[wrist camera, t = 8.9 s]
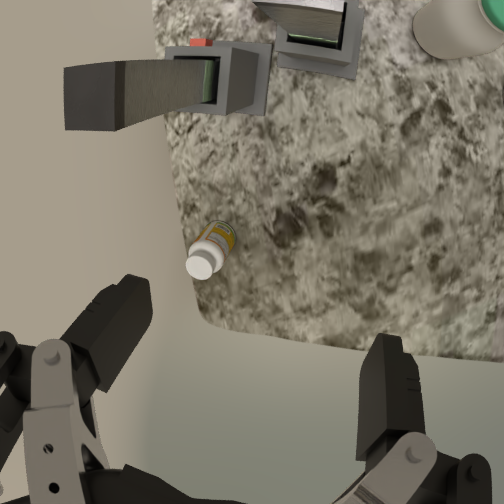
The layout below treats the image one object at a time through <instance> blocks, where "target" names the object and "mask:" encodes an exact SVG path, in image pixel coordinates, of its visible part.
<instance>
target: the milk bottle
mask: <svg viewBox="0 0 504 504" xmlns="http://www.w3.org/2000/svg"><path fill="white" fill-rule="evenodd" d="M413 32H414V35H415V38H416V40H417V41H418V43H419V44H420V46H421V47H422V48H423V49H424V50H425V51H426V52H427V53H429V54H430V55H432V56H434V57H436V58H439V59H457V58H464V57H471V56H478V55H483V54H487V53H490V52H493V51H495V50H496V49H498V48H499V47H500V46H501V45H502V44H503V43H504V0H432V1H431V2H429V3H428V4H427V5H425V6H424V7H423V8H421V9H420V10H419V11H418V12H417V14H416V15H415V17H414V20H413Z"/></svg>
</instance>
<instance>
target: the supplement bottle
mask: <svg viewBox="0 0 504 504" xmlns="http://www.w3.org/2000/svg"><path fill="white" fill-rule="evenodd" d="M234 243H235V233H234V231H233V229H232V228H231V227H230V226H229V225H228V224H226V223H224V222H222V221H213V222H211V223H209V224H208V225H207V226H206V227H205V228H204V230H203V231H202V232H201V234H200V235H199V236H198V238H197V239H196V240H195V241H194V243H193V244H192V246H191V247H190V249H189V258H188V259H187V261H186V269H187V271H188V272H189V274H190V275H191V276H193V277H194V278H196V279H200V280H204V279H208V278H209V277H210V276H211V275H212V273H214V272H217V271H218V270H219V269H220V268H221V267H222V265H223V264H224V262H225V260H226V258H227V256H228V255H229V253H230V251H231V249H232V247H233V245H234Z"/></svg>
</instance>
